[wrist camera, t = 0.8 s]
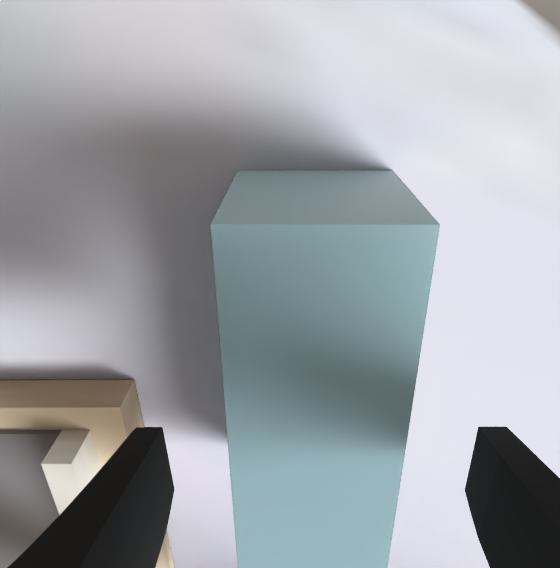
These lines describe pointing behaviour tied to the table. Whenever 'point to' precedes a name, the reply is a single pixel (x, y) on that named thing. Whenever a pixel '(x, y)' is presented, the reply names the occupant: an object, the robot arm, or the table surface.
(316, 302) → the light blue rectangular block
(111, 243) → the table surface
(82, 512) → the robot arm
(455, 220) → the table surface
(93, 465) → the display stand
